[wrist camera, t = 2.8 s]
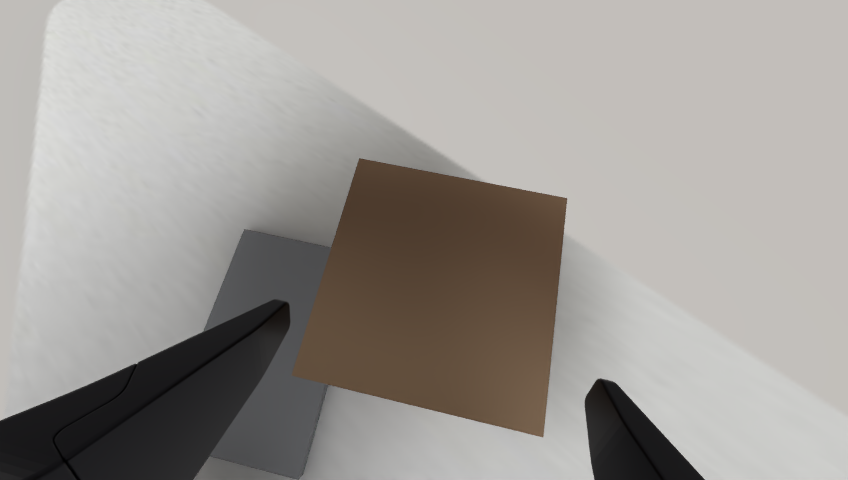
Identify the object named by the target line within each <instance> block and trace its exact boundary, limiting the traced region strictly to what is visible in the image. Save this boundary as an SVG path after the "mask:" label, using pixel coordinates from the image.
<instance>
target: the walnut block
mask: <svg viewBox="0 0 848 480" xmlns="http://www.w3.org/2000/svg"><path fill="white" fill-rule="evenodd" d="M566 204H567V198H563V197H557V196H552V195H547V194H542V193H536V192H532V191H526V190H521V189H516V188H511V187H506V186H500V185H495V184H490V183H485V182H480V181H474V180H469V179H464V178H459V177H454V176H448V175H443V174H438V173H433V172H428V171H422V170H417V169H412V168H407V167H402V166H396V165H391V164H386V163H381V162H376V161H370V160H365V159H360V158H359V161H358V164H357V167H356V171H355V174H354V177H353V180H352V183H351V187H350V190H349V193H348V196H347V199H346V203H345V206H344V209H343V212H342V215H341V219H340V222H339V225H338V228H337V231H336V235H335V238H334V241H333V244H332V247H331V251H330V254H329V257H328V260H327V263H326V266H325V270H324V273H323V276H322V279H321V282H320V286H319V289H318V292H317V295H316V298H315V302H314V305H313V308H312V311H311V314H310V318H309V321H308V324H307V327H306V330H305V334H304V337H303V340H302V343H301V346H300V350H299V353H298V356H297V359H296V362H295V366H294V369H293V372H292V375H291V376H295V377H299V378H303V379H307V380H311V381H315V382H320V383H324V384H328V385H332V386H336V387H340V388H344V389H348V390H352V391H356V392H360V393H364V394H369V395H373V396H377V397H381V398H385V399H389V400H393V401H397V402H401V403H405V404H409V405H413V406H418V407H422V408H426V409H430V410H434V411H438V412H442V413H446V414H450V415H454V416H458V417H462V418H467V419H471V420H475V421H479V422H483V423H487V424H491V425H495V426H499V427H503V428H507V429H511V430H516V431H520V432H524V433H528V434H532V435H536V436H540V437H543V434H544V424H545V414H546V404H547V394H548V384H549V374H550V364H551V354H552V344H553V334H554V324H555V314H556V304H557V294H558V284H559V274H560V264H561V254H562V244H563V234H564V224H565V214H566V213H565V212H566Z"/></svg>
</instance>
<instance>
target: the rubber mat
mask: <svg viewBox="0 0 848 480" xmlns="http://www.w3.org/2000/svg"><path fill="white" fill-rule="evenodd" d="M330 251H331V248H330V247H325V246H321V245H316V244H311V243H307V242H302V241H297V240H293V239H288V238H283V237H279V236H274V235H269V234H265V233H260V232H255V231H251V230H246V229H244V231H243V234H242V236H241V239H240V241H239V244H238V246H237V249H236V251H235V254H234V256H233V259H232V261H231V264H230V266H229V269H228V271H227V274H226V276H225V279H224V281H223V284H222V286H221V289H220V291H219V294H218V296H217V299H216V301H215V304H214V306H213V309H212V311H211V314H210V316H209V319H208V321H207V324H206V326H205V329H204V331H206V330H208V329H211V328H213V327H215V326H217V325H219V324H221V323H223V322H226V321H228V320H230V319H232V318H234V317H236V316H238V315H241V314H243V313H245V312H247V311H249V310H251V309H253V308H256V307H258V306H260V305H262V304H264V303H266V302H268V301H271V300H273V299H279V300H284V301H287V302H288V303H289V305H290V320H291V323H290V327H289V330H288V332H287V334H286V336H285V337H284V339H283V341H282V343H281V345H280V347H279V349H278V350H277V352H276V354H275V356H274V358H273V360H272V362H271V363H270V365H269V367H268V369H267V371H266V372H265V374H264V376H263V378H262V379H261V381H260V382H259V384H258V385H257V387H256V388H255V390H254V391H253V393H252V394H251V396H250V397H249V398H248V400H247V401H246V403H245V404H244V406H243V407H242V409H241V410H240V412H239V413H238V415H237V416H236V418H235V419H234V420H233V422H232V423H231V425H230V426H229V428H228V429H227V431H226V432H225V434H224V435H223V437H222V438H221V440H220V441H219V443H218V444H217V445H216V447H215V448H214V450H213V451H212V453H211V454H210V456H212V457H215V458H219V459H223V460H226V461H230V462H234V463H238V464H241V465H245V466H249V467H253V468H256V469H260V470H264V471H267V472H271V473H275V474H279V475H282V476H286V477H290V478H294V479H297V480H298V479H299V478H300V477H301V476H302V475H303V472H304V469H305V465H306V462H307V458H308V454H309V451H310V447H311V444H312V440H313V437H314V433H315V429H316V426H317V422H318V419H319V415H320V412H321V408H322V405H323V401H324V397H325V394H326V390H327V387H328V384H324V383H320V382H315V381H311V380H307V379H303V378H299V377H295V376H291V375H292V372H293V369H294V366H295V362H296V359H297V356H298V353H299V350H300V346H301V343H302V340H303V337H304V334H305V330H306V327H307V324H308V321H309V318H310V314H311V311H312V308H313V305H314V302H315V298H316V295H317V292H318V289H319V286H320V282H321V279H322V276H323V273H324V270H325V266H326V263H327V260H328V257H329V254H330ZM204 331H203V332H204Z"/></svg>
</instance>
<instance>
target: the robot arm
mask: <svg viewBox="0 0 848 480" xmlns="http://www.w3.org/2000/svg"><path fill="white" fill-rule="evenodd" d="M290 323H291V320H290V305H289V303H288V302H287V301H284V300H279V299H273V300H271V301H268V302H266V303H264V304H262V305H260V306H258V307H256V308H253V309H251V310H249V311H247V312H245V313H243V314H241V315H238V316H236V317H234V318H232V319H230V320H228V321H226V322H223V323H221V324H219V325H217V326H215V327H213V328H211V329H208V330H206V331H204V332H202V333H200V334H198V335H196V336H193V337H191V338H189V339H187V340H185V341H183V342H181V343H178V344H176V345H174V346H172V347H170V348H168V349H166V350H163V351H161V352H159V353H157V354H155V355H153V356H151V357H148V358H146V359H144V360H142V361H140V362H138V364H133V365H131V366H129V367H127V368H125V369H122V370H120V371H118V372H116V373H114V374H111V375H109V376H107V377H105V378H103V379H100V380H98V381H96V382H94V383H91V384H89V385H87V386H84V387H82V388H80V389H77V390H75V391H72V392H70V393H68V394H65V395H63V396H60V397H58V398H56V399H53V400H51V401H48V402H46V403H43V404H41V405H38V406H36V407H33V408H31V409H28V410H26V411H23V412H21V413H18V414H16V415H13V416H11V417H8V418H6V419H3V420H1V421H0V480H193V479H194V478H195V476H196V475H197V473H198V472H199V470H200V469H201V468H202V466H203V465H204V463H205V462H206V460H207V459H208V457H209V456H210V454H211V453H212V451H213V450H214V448H215V447H216V445H217V444H218V443H219V441H220V440H221V438H222V437H223V435H224V434H225V432H226V431H227V429H228V428H229V426H230V425H231V423H232V422H233V420H234V419H235V418H236V416H237V415H238V413H239V412H240V410H241V409H242V407H243V406H244V404H245V403H246V401H247V400H248V398H249V397H250V396H251V394H252V393H253V391H254V390H255V388H256V387H257V385H258V384H259V382H260V381H261V379H262V378H263V376H264V374H265V372H266V371H267V369H268V367H269V365H270V363H271V362H272V360H273V358H274V356H275V354H276V352H277V350H278V349H279V347H280V345H281V343H282V341H283V339H284V337H285V336H286V334H287V332H288V330H289V327H290ZM585 412H586V421H587V430H588V440H589V449H590V457H591V464H592V469H593V475H594V479H595V480H705V479H704V478H703V477H702V476H701V475H700V474H699V473H698V472H697V471H696V470H695V469H694V467H693V466H692V465H691V464H690V463H689V462H688V461H687V460H686V459H685V458H684V457H683V455H682V454H681V453H680V452H679V451H678V450H677V449H676V448H675V447H674V446H673V445H672V444H671V442H670V441H669V440H668V439H667V438H666V437H665V436H664V435H663V434H662V433H661V432H660V430H659V429H658V428H657V427H656V426H655V425H654V424H653V423H652V422H651V421H650V420H649V419H648V417H647V416H646V415H645V414H644V413H643V412H642V411H641V410H640V409H639V408H638V407H637V405H636V404H635V403H634V402H633V401H632V400H631V399H630V398H629V397H628V396H627V395H626V394H625V392H624V391H623V390H622V389H621V388H620V387H619V386H618V385H617V384H616V383H615V382H613V381H609V380H605V379H597V380H596V381H595V383H594V385H593V386H592V388H591V389H590V391H589V393H588V394H587V396H586V398H585Z"/></svg>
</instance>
